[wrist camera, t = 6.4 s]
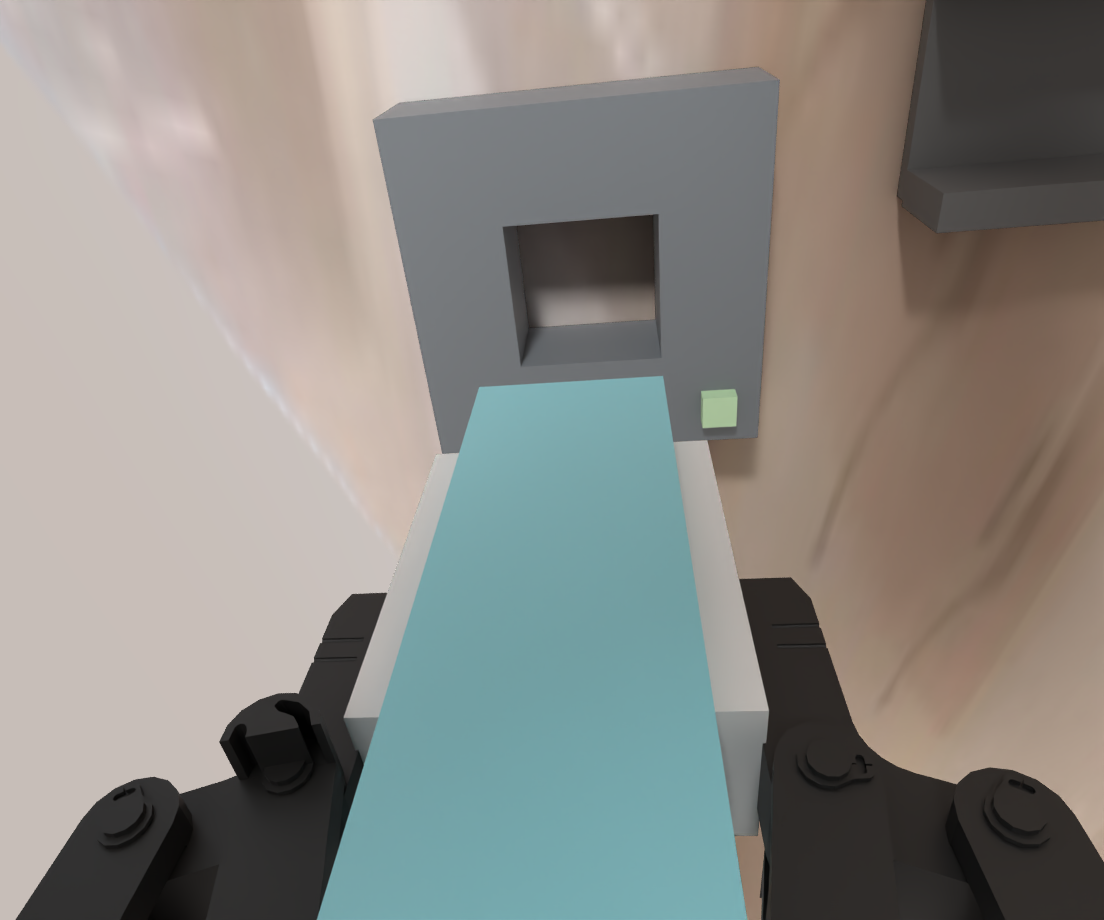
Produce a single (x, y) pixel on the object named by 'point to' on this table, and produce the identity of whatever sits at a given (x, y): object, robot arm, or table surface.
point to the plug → (549, 686)
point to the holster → (1006, 115)
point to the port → (584, 194)
